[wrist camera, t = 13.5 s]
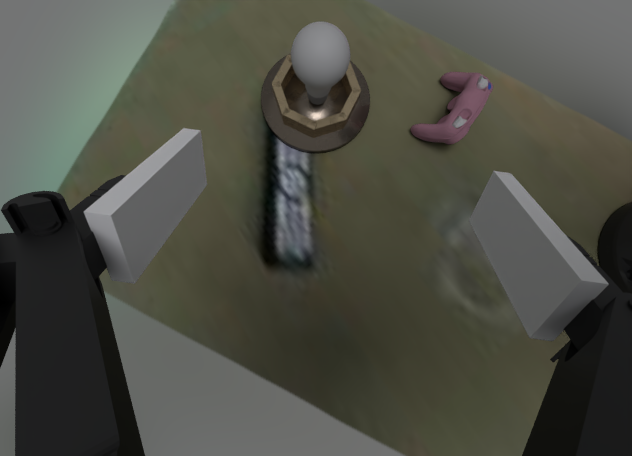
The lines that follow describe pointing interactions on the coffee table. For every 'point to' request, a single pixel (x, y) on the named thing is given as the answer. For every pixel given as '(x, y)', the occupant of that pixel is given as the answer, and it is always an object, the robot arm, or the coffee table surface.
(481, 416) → the coffee table surface
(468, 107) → the video game controller
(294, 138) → the socket
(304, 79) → the lightbulb
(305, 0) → the coffee table surface
